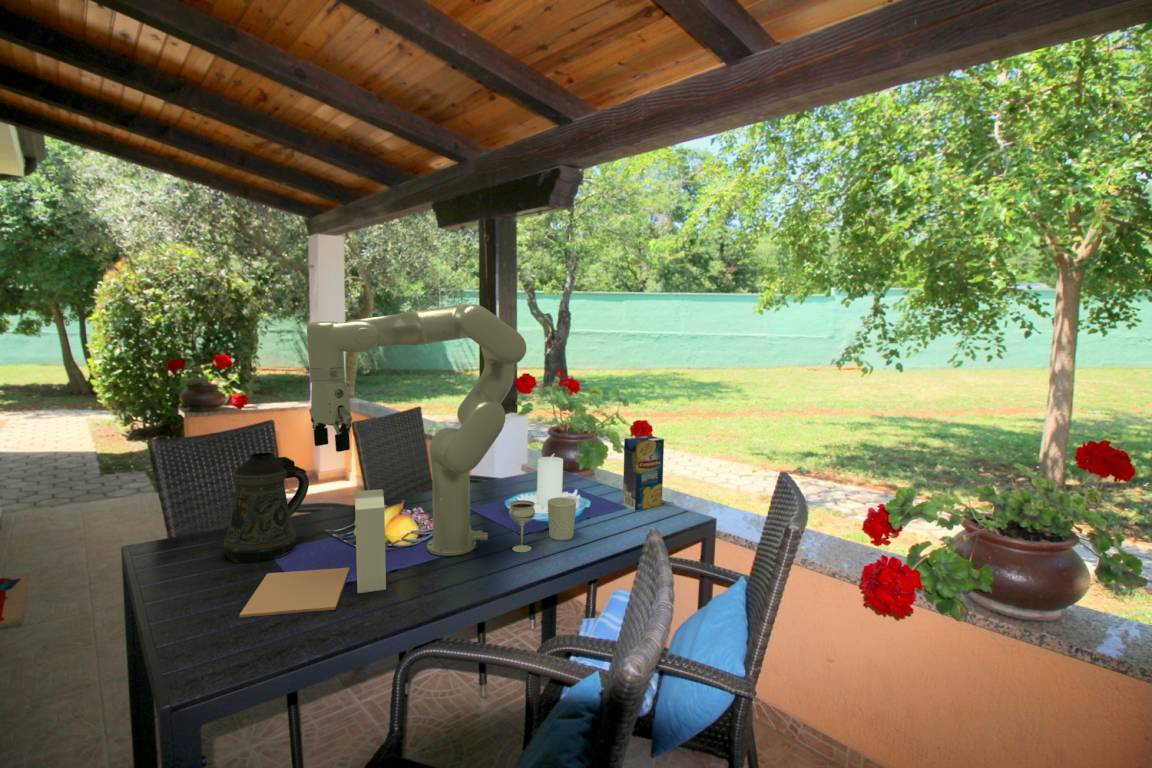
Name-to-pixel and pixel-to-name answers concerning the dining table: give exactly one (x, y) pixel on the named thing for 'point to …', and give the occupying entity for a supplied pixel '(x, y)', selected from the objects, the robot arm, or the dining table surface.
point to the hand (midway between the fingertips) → (332, 447)
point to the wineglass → (522, 518)
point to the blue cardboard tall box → (643, 472)
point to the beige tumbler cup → (561, 518)
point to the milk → (370, 540)
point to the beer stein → (263, 509)
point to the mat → (297, 592)
